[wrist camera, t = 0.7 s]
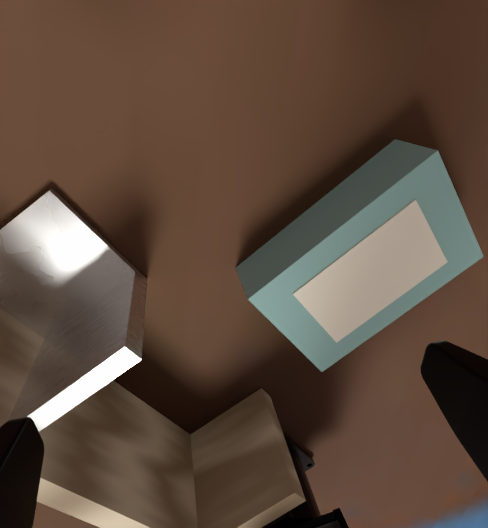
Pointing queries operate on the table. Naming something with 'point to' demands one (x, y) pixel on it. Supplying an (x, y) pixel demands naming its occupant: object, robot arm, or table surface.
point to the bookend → (69, 306)
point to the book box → (362, 254)
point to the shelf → (154, 456)
